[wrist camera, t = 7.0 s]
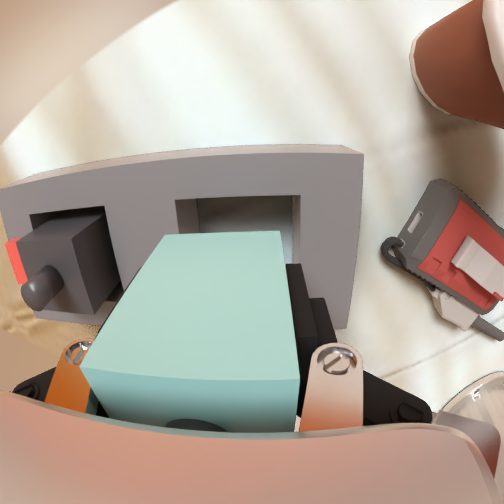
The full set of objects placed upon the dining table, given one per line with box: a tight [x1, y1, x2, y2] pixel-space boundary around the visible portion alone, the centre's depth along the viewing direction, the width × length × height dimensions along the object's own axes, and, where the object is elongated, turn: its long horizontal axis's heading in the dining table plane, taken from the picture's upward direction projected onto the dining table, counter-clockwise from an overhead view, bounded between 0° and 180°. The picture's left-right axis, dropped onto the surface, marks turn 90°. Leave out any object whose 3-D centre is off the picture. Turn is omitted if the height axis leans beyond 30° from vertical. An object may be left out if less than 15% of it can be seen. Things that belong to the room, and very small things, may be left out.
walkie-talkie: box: [381, 179, 504, 341], centre depth 19 cm, size 9×4×20 cm
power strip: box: [0, 144, 364, 329], centre depth 16 cm, size 22×10×9 cm, turn 92°
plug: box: [79, 231, 300, 433], centre depth 8 cm, size 4×4×9 cm
